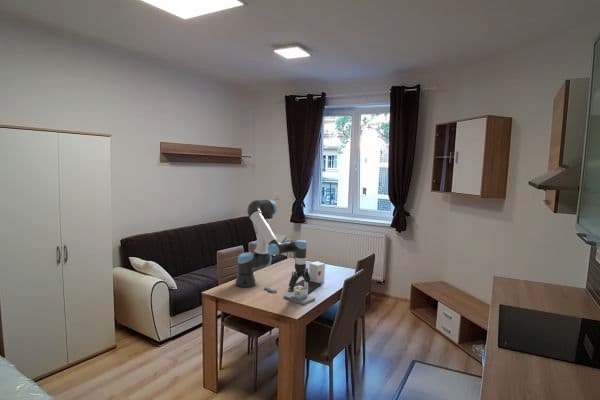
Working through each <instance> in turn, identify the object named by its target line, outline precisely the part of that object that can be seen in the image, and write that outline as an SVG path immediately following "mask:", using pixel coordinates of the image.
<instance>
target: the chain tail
mask: <svg viewBox="0 0 600 400" xmlns="http://www.w3.org/2000/svg"><path fill="white" fill-rule="evenodd" d="M263 290H264V291H265V290H266V291H267V292H269V293H275V294H276V293H278V290H276V289H272V288H271V287H267V286H266V287H264V288H263Z"/></svg>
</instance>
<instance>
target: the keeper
mask: <svg viewBox="0 0 600 400" xmlns="http://www.w3.org/2000/svg"><path fill="white" fill-rule="evenodd" d="M298 290H302V288H300V287H299V288H298ZM283 299H285V300H289V301H292V302H295V303H298V304H299V305H303V306H306V305H307V304H309V303H311V302H314V301H316V297H313V296H311V295H308V297H306V298H304V299H301V300H299V299H296V298H293V297H291V292H290V293H287V294H285V295H283Z"/></svg>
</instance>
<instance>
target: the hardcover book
mask: <svg viewBox="0 0 600 400" xmlns="http://www.w3.org/2000/svg"><path fill="white" fill-rule="evenodd" d="M304 282H306V281H305V280H304V279H301V280H299V281H297V282H296V284H295V286H294V287H296V286H302V287H304ZM321 286H322V283H317V282H312V281H310V282H308V295H310V294H311V293H312V292H314V291H315V290H316V289H318V288H320V287H321ZM287 289H288V291H289V292H291V287H289V286H288V288H287Z"/></svg>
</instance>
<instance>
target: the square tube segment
mask: <svg viewBox="0 0 600 400" xmlns="http://www.w3.org/2000/svg"><path fill="white" fill-rule="evenodd" d="M299 287H300V288H302V290H298V288H299ZM308 296H309V294H308V288H306V287H302V286H296V287H295V297H293V296H291V297H293V298H296V299H299V300H301V299H304V298H306V297H308Z"/></svg>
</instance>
